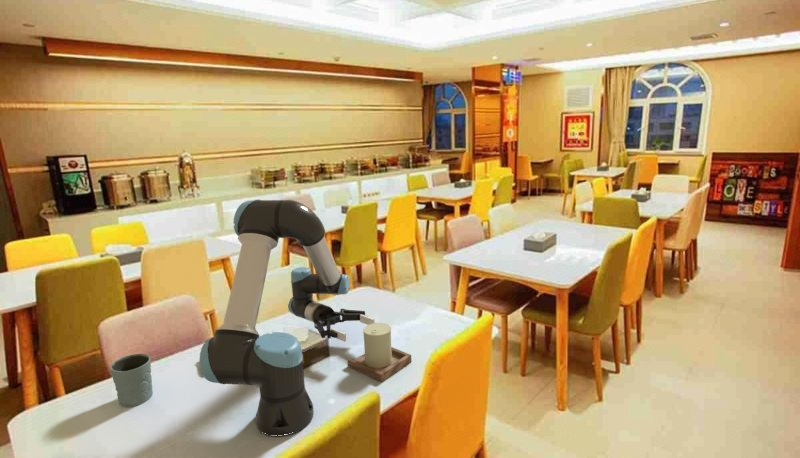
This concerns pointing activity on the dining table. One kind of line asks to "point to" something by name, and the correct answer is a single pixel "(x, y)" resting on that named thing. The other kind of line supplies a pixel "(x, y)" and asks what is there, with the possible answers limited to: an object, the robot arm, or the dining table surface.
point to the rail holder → (383, 373)
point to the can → (377, 345)
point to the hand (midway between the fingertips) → (360, 330)
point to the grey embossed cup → (132, 379)
